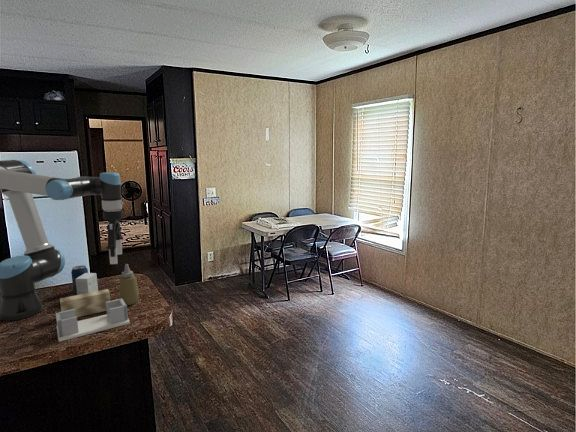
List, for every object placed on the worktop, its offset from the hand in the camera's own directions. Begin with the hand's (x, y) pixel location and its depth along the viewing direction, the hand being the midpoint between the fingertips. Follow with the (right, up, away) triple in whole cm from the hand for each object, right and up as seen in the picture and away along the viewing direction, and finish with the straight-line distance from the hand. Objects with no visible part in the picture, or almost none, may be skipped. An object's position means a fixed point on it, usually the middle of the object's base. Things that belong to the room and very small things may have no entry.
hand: (116, 259), depth 155 cm
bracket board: (-3, -25, -13) cm, 28 cm away
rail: (-12, -23, -1) cm, 26 cm away
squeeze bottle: (+2, -21, +8) cm, 23 cm away
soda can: (-28, -18, +23) cm, 40 cm away
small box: (-20, -20, +15) cm, 32 cm away
